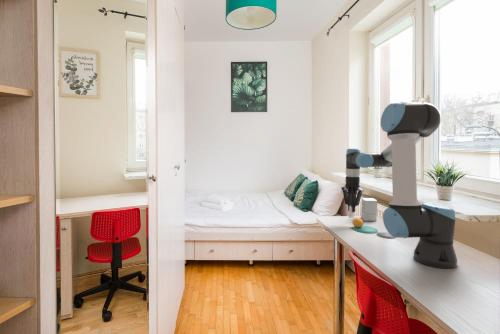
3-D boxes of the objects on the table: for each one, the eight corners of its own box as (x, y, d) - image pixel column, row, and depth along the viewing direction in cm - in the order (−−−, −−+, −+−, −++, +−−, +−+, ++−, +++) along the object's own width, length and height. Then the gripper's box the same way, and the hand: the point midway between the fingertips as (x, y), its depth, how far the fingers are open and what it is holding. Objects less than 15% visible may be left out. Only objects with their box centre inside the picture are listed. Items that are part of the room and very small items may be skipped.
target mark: (382, 230, 160) (382, 229, 160) (369, 235, 152) (369, 234, 152) (361, 224, 170) (361, 224, 170) (347, 228, 162) (347, 228, 162)
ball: (358, 226, 167) (366, 226, 163) (352, 229, 164) (360, 228, 160) (355, 217, 168) (363, 216, 164) (349, 219, 165) (357, 218, 161)
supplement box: (372, 217, 184) (373, 198, 183) (376, 221, 177) (377, 200, 175) (360, 217, 185) (361, 197, 184) (364, 220, 177) (364, 200, 176)
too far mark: (399, 236, 150) (399, 235, 150) (390, 239, 145) (390, 239, 145) (382, 231, 158) (382, 231, 158) (373, 234, 152) (373, 234, 152)
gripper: (367, 176, 162) (365, 218, 164) (346, 174, 172) (345, 214, 174) (359, 177, 158) (357, 220, 160) (338, 175, 168) (337, 216, 170)
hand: (351, 217), depth 167 cm, fingers closed
